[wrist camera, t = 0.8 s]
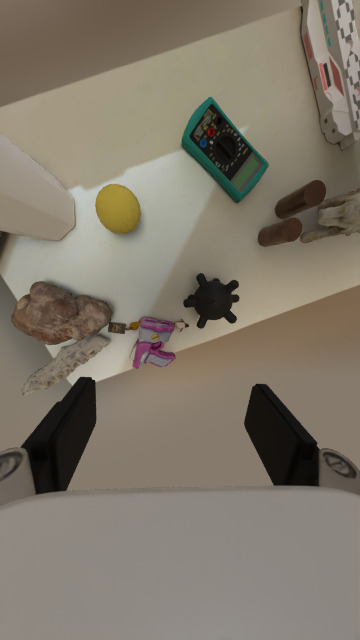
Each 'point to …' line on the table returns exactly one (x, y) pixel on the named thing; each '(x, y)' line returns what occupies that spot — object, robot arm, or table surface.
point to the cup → (31, 197)
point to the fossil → (65, 363)
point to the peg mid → (280, 232)
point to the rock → (59, 315)
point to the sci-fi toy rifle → (334, 66)
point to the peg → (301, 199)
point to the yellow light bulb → (118, 209)
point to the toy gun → (152, 343)
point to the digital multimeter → (223, 150)
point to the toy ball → (213, 300)
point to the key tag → (122, 327)
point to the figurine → (337, 217)
